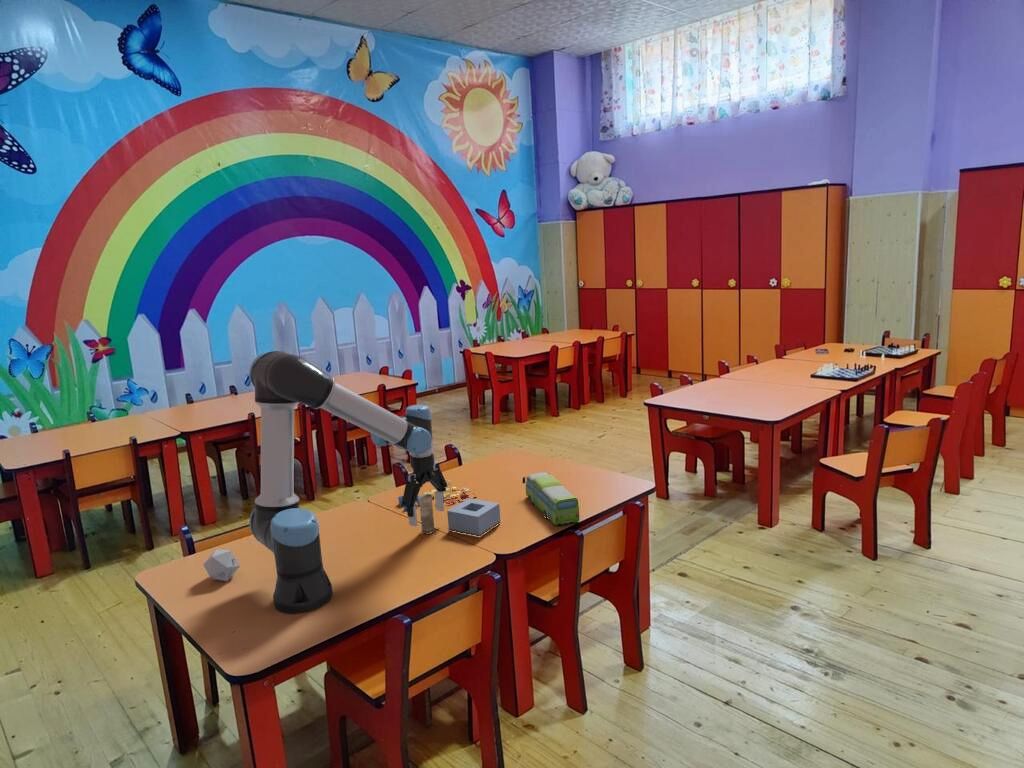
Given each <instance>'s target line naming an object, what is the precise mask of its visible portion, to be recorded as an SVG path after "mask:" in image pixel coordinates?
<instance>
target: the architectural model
mask: <svg viewBox="0 0 1024 768" xmlns="http://www.w3.org/2000/svg"><path fill="white" fill-rule="evenodd" d="M445 481H446V483H447V487H445V488H446V491H443V495H444V499H443V500H445V499H447V498H450V497H451V498H452V497H455V496H458V495H460V498H461V499H462V500H463V499H466V498H469V495H467V494H464V493H463V494H458V493H461V491H464V492H465V493H467V492H470V493H471V489H468V488H467V487H461V488H459V489H460V491H458V490H456V492H458V493H457V494H452V489H456V488H457V487H456V486H451V480H449V479H445ZM435 491H437V490H436V489H435V488H433V489H430V491H429V490H427V491H425V492H423V494H430V495H432V498H433V496H434V497H435ZM450 493H451V494H450ZM472 493H473V494H474V493H475V492H472ZM474 495H475V494H474ZM419 496H420V495H418V496H417V499H416V500H418V501H417V503H416V502H415V504H414V506H416V508H417V509H418V506H419V505H420V503H419ZM397 498H398V505H399V504H400V505H399V506H401V507H403V506H402V505H401V504H402V499H403V495H399V496H398V497H397ZM461 499H460V500H461ZM447 501H448V502H447ZM447 501H444V502H445V503H446V504H450V503H454V502H455V503H456V501H455V499H454V500H453V499H450V501H449V500H447ZM445 503H444V504H445ZM418 504H419V505H418ZM435 504H436V502H435ZM406 510H407V507H403V511H404V512H407V511H406Z"/></svg>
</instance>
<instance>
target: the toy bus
mask: <svg viewBox="0 0 1024 768" xmlns="http://www.w3.org/2000/svg"><path fill="white" fill-rule="evenodd" d="M522 484H525V495H526V497H527V496H528V497H529V498H528V497H527V498H528V499H529V502H530V501H531V502H533V503H534V506H536V507H537V509H539V511H540V512H543V513H544V514H543V513H542V514H543V517H544V516H545V517H546V518H547V517H548V518H549V520H548V521H550V520H551V521H550V522H551V523H552V524H553V525H554V526H555V525H556V526H559V525H558V524H561V525H565V524H564V523H567V524H571V523H570V522H572V523H576V522H580V506H579V500H578V498H577V497H576V496H575V495H573V494H572V493H571V492H570V491H569V490H567V488H565V487H564V486H563V485H562V483H561V482H560V480H558V479H557V478H556V477H555V476H554V475H551V474H550V473H548V472H536V473H532V474H529V475H527V476H523V477H522ZM531 502H530V503H531ZM533 503H532V504H533ZM545 517H544V518H545Z"/></svg>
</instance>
